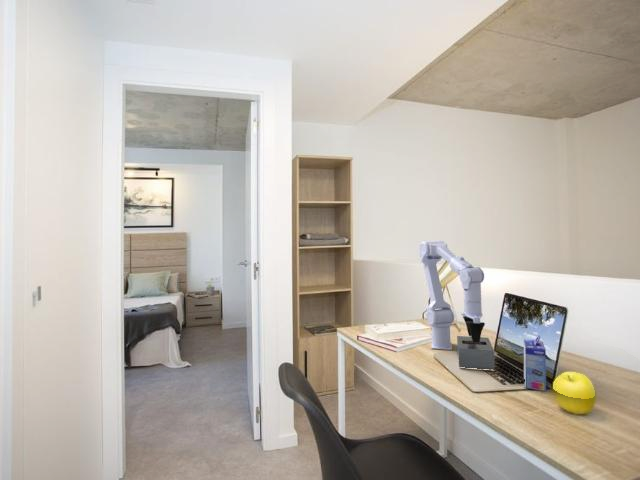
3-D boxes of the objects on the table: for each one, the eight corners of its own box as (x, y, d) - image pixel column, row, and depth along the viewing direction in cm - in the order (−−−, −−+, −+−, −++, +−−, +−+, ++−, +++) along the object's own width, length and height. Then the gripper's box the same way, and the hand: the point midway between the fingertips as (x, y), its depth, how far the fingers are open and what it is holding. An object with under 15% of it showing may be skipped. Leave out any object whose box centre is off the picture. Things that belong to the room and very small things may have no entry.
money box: (457, 354, 135) (457, 335, 135) (489, 356, 131) (488, 337, 131) (459, 368, 120) (458, 348, 120) (494, 371, 116) (494, 350, 116)
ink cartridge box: (547, 392, 99) (545, 341, 100) (525, 389, 102) (523, 339, 102) (544, 379, 108) (542, 333, 108) (523, 377, 111) (521, 331, 111)
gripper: (457, 297, 134) (459, 333, 133) (463, 304, 119) (465, 344, 119) (477, 297, 132) (479, 333, 132) (486, 304, 118) (487, 345, 118)
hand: (473, 338), depth 125 cm, fingers open, 7 cm apart
